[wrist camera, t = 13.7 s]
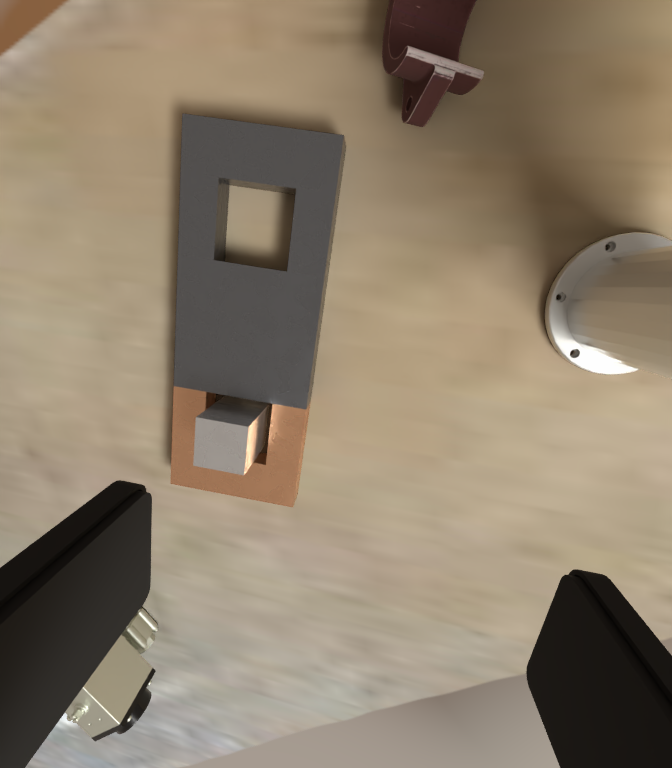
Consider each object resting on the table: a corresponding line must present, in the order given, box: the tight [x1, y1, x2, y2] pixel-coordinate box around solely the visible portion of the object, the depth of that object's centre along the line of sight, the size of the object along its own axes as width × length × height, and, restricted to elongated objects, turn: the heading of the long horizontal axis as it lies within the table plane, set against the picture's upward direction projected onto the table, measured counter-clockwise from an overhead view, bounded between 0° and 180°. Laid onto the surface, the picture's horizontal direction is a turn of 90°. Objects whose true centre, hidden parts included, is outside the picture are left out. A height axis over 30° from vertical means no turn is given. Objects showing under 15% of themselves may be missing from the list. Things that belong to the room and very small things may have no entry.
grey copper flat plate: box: [171, 114, 346, 507], centre depth 37 cm, size 14×36×2 cm, turn 171°
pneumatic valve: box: [65, 608, 158, 741], centre depth 44 cm, size 6×12×12 cm, turn 35°
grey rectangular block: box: [193, 395, 270, 475], centre depth 37 cm, size 5×5×7 cm
